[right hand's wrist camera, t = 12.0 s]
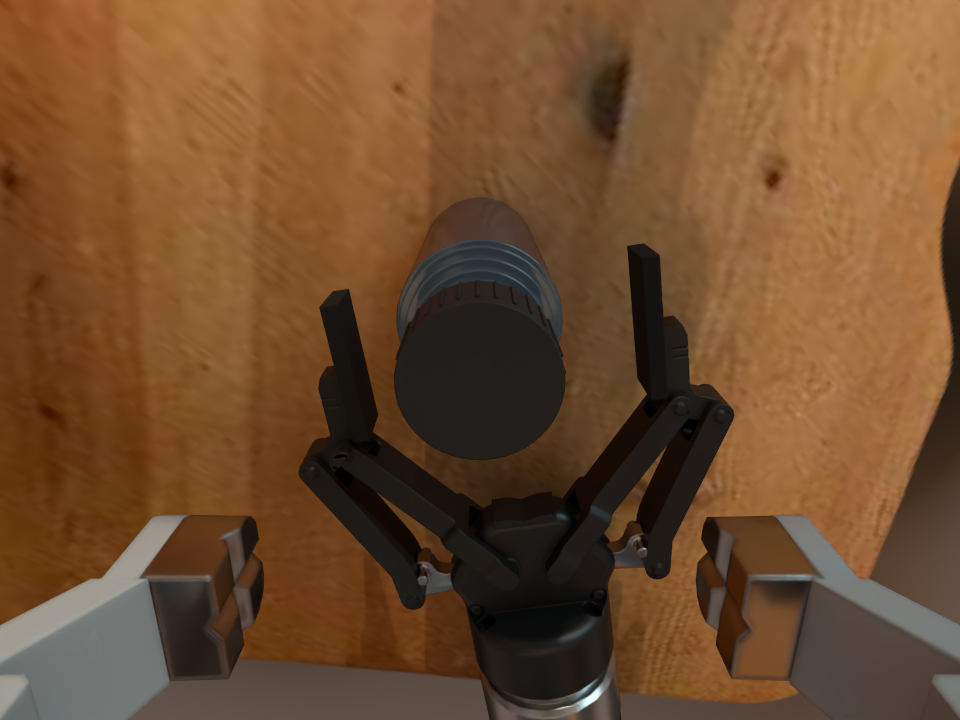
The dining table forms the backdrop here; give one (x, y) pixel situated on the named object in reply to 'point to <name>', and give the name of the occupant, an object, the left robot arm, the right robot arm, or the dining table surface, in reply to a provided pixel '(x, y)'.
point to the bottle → (479, 259)
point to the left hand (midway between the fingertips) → (486, 273)
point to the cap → (479, 371)
